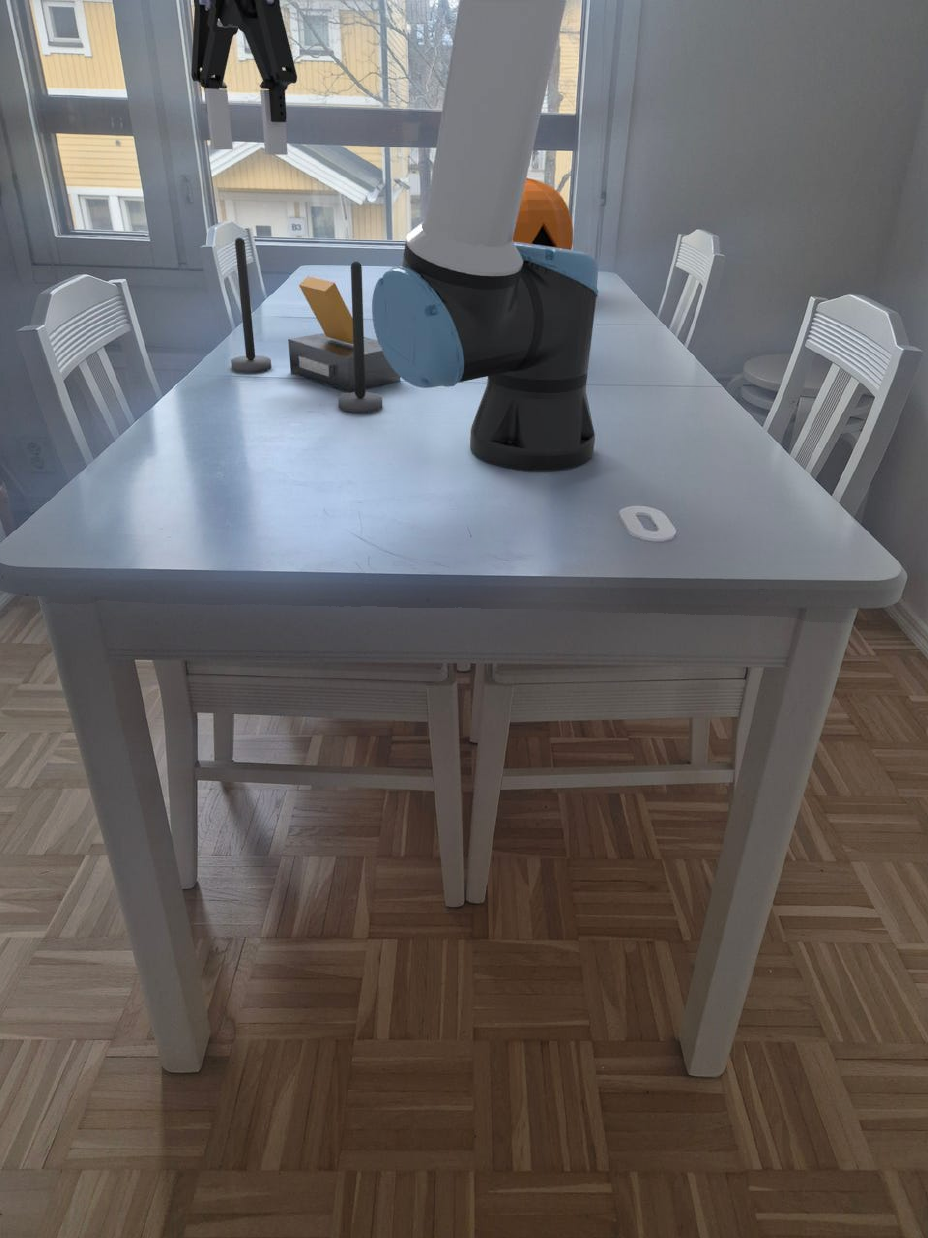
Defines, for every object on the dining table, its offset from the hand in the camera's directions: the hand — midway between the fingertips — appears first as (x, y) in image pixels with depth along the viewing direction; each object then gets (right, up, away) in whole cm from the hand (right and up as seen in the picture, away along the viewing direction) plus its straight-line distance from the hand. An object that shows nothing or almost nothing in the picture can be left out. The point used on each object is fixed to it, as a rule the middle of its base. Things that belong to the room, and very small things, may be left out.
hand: (248, 151), depth 103 cm
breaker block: (+9, -21, +24) cm, 33 cm away
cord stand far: (-6, -19, +27) cm, 33 cm away
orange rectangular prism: (+9, -16, +21) cm, 28 cm away
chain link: (+45, -49, -18) cm, 69 cm away
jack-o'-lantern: (+37, +17, +89) cm, 98 cm away
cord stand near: (+12, -29, +12) cm, 33 cm away
